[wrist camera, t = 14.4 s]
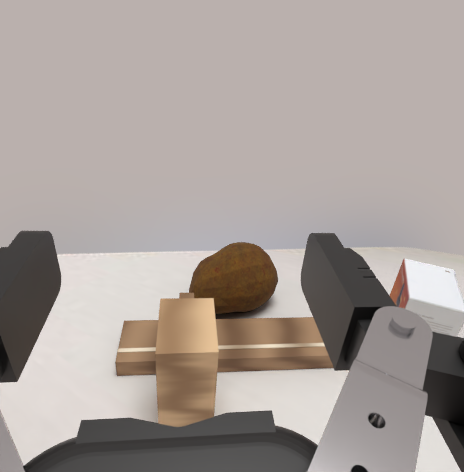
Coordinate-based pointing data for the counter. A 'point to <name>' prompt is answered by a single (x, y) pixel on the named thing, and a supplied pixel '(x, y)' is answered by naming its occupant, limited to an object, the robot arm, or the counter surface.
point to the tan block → (186, 360)
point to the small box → (430, 295)
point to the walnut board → (234, 345)
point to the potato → (235, 278)
